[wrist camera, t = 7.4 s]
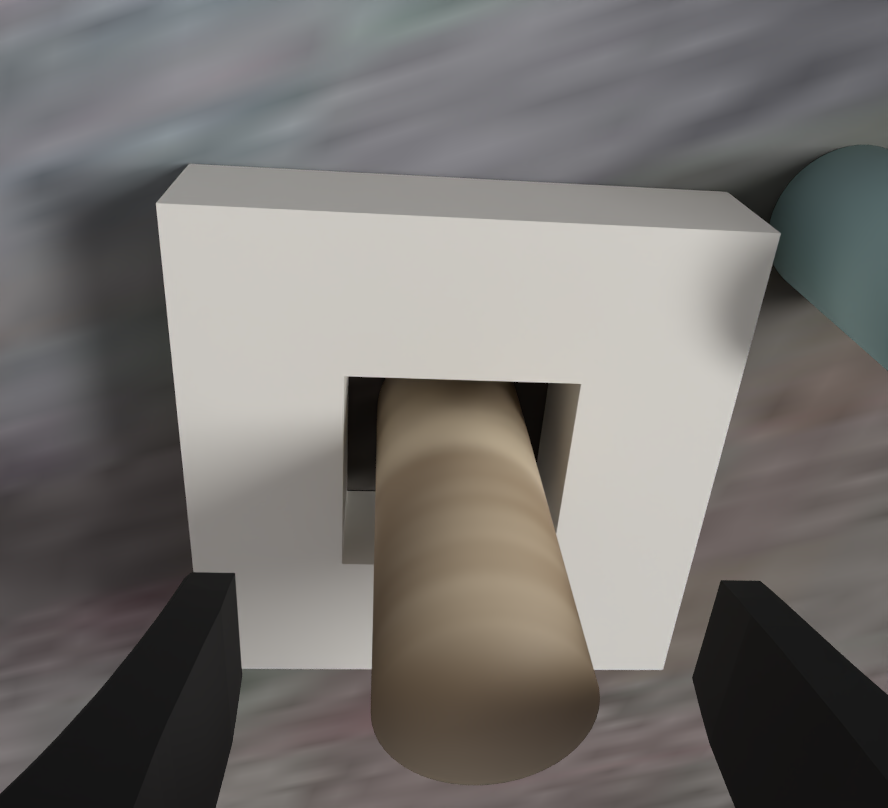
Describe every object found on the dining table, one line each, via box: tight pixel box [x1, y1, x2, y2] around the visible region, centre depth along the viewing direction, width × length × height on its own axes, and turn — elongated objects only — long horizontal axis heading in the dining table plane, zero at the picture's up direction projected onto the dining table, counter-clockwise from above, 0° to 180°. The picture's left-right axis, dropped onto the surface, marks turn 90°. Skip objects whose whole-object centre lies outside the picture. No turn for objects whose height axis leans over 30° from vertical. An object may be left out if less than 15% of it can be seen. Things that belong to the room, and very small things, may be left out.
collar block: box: [156, 164, 781, 670], centre depth 17 cm, size 10×10×2 cm
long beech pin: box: [371, 378, 600, 785], centre depth 14 cm, size 3×3×8 cm
